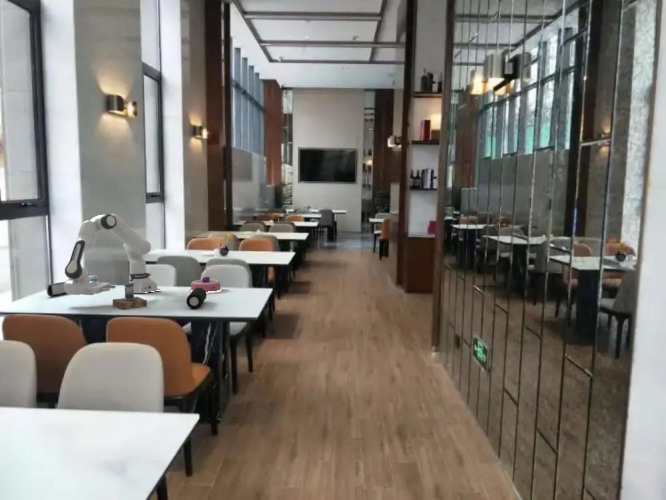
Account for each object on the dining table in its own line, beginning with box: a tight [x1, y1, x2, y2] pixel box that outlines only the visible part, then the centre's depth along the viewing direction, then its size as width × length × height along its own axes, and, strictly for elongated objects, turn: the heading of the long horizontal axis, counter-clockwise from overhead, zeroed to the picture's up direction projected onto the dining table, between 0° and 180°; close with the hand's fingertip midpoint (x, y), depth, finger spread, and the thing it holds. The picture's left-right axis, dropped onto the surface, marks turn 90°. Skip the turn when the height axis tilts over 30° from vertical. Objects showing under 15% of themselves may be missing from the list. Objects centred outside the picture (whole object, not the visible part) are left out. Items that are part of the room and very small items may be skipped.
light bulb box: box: [88, 274, 99, 282], centre depth 411 cm, size 11×7×11 cm, turn 71°
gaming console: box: [45, 281, 68, 298], centre depth 391 cm, size 19×9×2 cm
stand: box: [112, 296, 148, 310], centre depth 357 cm, size 16×16×4 cm
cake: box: [190, 276, 221, 292], centre depth 413 cm, size 25×25×11 cm
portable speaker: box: [186, 288, 208, 309], centre depth 361 cm, size 26×10×10 cm, turn 5°
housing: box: [123, 282, 136, 300], centre depth 356 cm, size 7×7×10 cm
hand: (112, 288), depth 356 cm, fingers open, 8 cm apart
